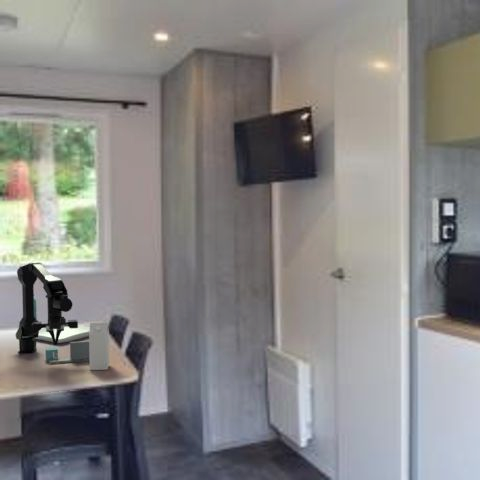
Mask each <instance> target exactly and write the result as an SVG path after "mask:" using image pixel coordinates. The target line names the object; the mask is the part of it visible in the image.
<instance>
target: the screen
mask: <svg viewBox="0 0 480 480" xmlns="http://www.w3.org/2000/svg"><path fill="white" fill-rule="evenodd" d="M69 349H70V350H69V351H70V353H69V354H70V357H69V358H70V359H76V358H88V357H89V340H85V341H84V340H83V341H69Z"/></svg>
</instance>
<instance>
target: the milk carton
mask: <svg viewBox="0 0 480 480" xmlns="http://www.w3.org/2000/svg"><path fill="white" fill-rule="evenodd" d="M89 327H90V330H89V336H88V341H89V361H88V362H89V371H102V370H103V371H104V370H108V369H109V366H110V329H109V324H108V321H107V322H105V321H103V322H90V323H89Z"/></svg>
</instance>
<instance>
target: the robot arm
mask: <svg viewBox="0 0 480 480" xmlns="http://www.w3.org/2000/svg"><path fill="white" fill-rule="evenodd" d="M16 274H17V279H18V281H19V283H20V284H21V289H22V290H21V291H22V293H21V294H22V317H21V319H20V321H19V322H18V323H19V324H18V329H17V331H16V333H15V338H16V340H18V343H19V344H18V345H19V348H18V349H19V350H18V351H17V353H18V354H21V353H22V354H23V353H24V354H31V353H34V352H35V351H37V350H38V348H37V340H36V339H35V338H37V337H38V334H39V331H40V330H41V329H43V328H46V332H49V333H50V335H51V337H52V340H53V342H52V343H53V345H54V346H57V344H58V343H57V342H58V338H59V335H60V333H61V331H64V327H67V326H68V327H69V328H70V329H71V328H78V326H79V321H78V320H77V319H68V320H67V318H66V316H63V315H62V313H67V312H70V311H71V310H72V309H73V308H72V307H73V301H72V300H71V299H70V298H69V294H68V289H67V287H66V285H65V283H64V281H63V280H62V279H61V278H59V277H58V276H53V275H52V274H51V273H50V272H49V271H48V270H47V269H46V268H45V267H44V265H43V263H42V262H41V261H31V262H29V263H28V264H25V265H23V266H22V265H21V266H19V268H18V269H17V270H16ZM38 280H39V281H40V282H41V283H42V284H43V286H42V288H43V290H44V291H45V293H46V295H45V299H47V300H46V301H47V322H46V323H43V322H42V321H39V320H38V319H37V320H36V318H37V317H36V318H35V317H34V299H35V297H34V296H35V293H34V291H35V290H34V289H35V288H34V285H35V283H36V282H37V281H38ZM54 329H57V331H56V340H55V335H54Z"/></svg>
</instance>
